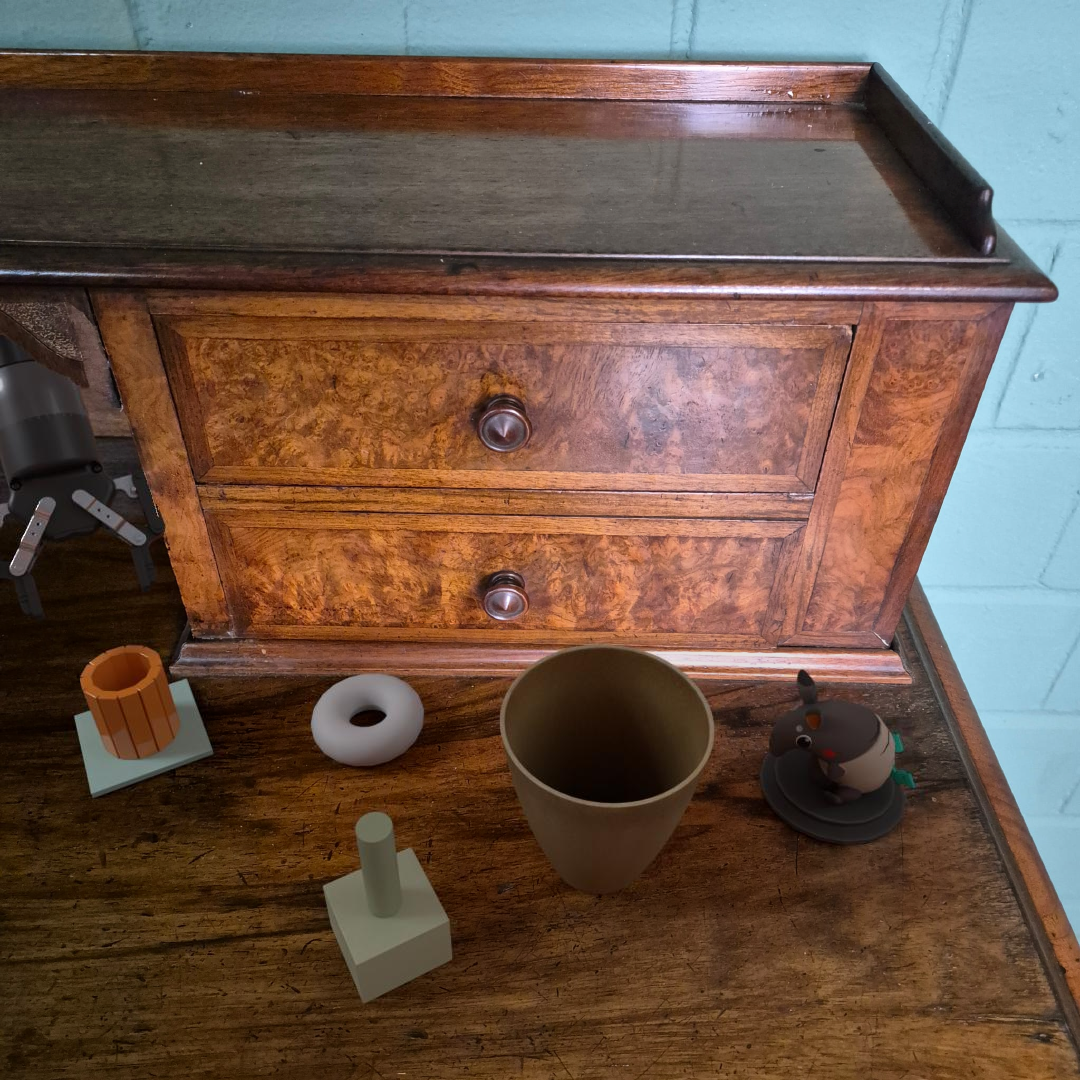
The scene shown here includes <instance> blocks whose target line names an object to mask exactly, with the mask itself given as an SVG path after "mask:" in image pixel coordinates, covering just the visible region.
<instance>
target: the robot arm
mask: <svg viewBox="0 0 1080 1080" xmlns="http://www.w3.org/2000/svg"><path fill="white" fill-rule="evenodd" d="M0 461H1V465H2V468H3V472H4V475H5V479H6V482H7V486H8V490H9V498H8V500H7V502H4V503H0V531H2V530H3V529H4V526H5V520H6V519H7V518H8V517H10V516H11V517H12V519H15V520H16V521H17V522H19V523H20V524H21V525H23V526H25V527H26V530H25V532H24V534H23V536H22V538H21V541H20V543H19V547H18V549H17V551H16V553H15V555H14V557H13V560H12V561H5V560H4V561H3V559H2V555H1V554H0V579H9V580H11V581H12V582H13V585H14V588H15V591H16V595H17V599H18V602H19V604H20V609H21V610H22V612H23V613H24V614H25V616H27V617H31V616H32V617H33V619H34V621H35V622H40V621H43V620H46V615H45V612H44V609H43V604H42V601H41V597H40V595H39V592H38V587H37V584H36V580H35V577H34V576H33V575H32V574H31V572H32V570H33V567H34V566H35V564H36V561H37V559H38V558H39V556H40V555H41V554H42V551H43V549H44V547H45V546H46V543H47V542H50V543H55V544H61V543H64V542H67V541H69V540H71V539H73V538H75V537H77V538H78V537H89V536H94V535H96V533H97V532H99V531H100V530H101V528H102V529H103V530H105V531H106V532H108V533H109V534H110V535H112V536H114V537H116V538H118V539H119V540H120V541H122V542H124V543H125V544H126V545H128V546H129V547H131V549H130V554H131V557H132V561H133V565H134V567H135V572H136V573H137V579H138V581H139V584H140V587H141V591H142V593H143V594H145V593H149V592H152V585H153V584H155V583H156V582H157V581H156V580H157V572H156V569H155V566H154V563H153V559H152V556H151V553H150V549H149V547H150V546H151V544H152V543H154V542H156V541H157V540H158V539H161V538H163V537H164V536H165V534H164V532H165V533H166V523H165V520H164V517H163V515H162V513H161V510H160V509H159V510H158V507H159V505H158V506H157V504H158V503H157V504H156V508H157V512H158V515H159V517H158V516H157V513H156V509H155V506H154V503H153V499H152V495H151V492H150V489H149V486H148V484H147V480H146V477H145V475H144V472H143V471H144V470H143V469H142V468H141V469H140V468H136V469H135V470H133V471H132V473H131V474H127V475H125V476H121V477H118V478H117V477H116V478H114V479H113V478H112V477H111V476H110V475H108V473H107V472H106V470H105V467H104V462H103V460H102V457H101V453H100V450H99V447H98V444H97V440H96V437H95V433H94V429H93V426H92V424H91V420H90V416H89V410H88V408H87V407H86V403H85V401H84V396H83V394H82V391H81V388H80V386H79V384H78V385H76V384H75V383H73V382H72V381H71V380H70V379H69V378H66V377H65V376H62V375H59V374H56V373H55V372H53V371H51V370H50V369H48V368H46V367H45V366H43V365H41V364H40V363H38V362H36V361H35V360H34V359H33V358H32V357H31V356H30V355H29V354H28V353H27V352H25V351H24V350H23V349H22V348H21V347H19V346H18V345H16V344H15V343H13V342H12V341H10V340H8V339H7V338H6V337H5V336H4V335H0ZM117 492H122V493H124V494H125V495H126V497H127V498H128V499H130V500H133V501H135V500H138V503H139V506H140V509H141V511H142V515H143V516H144V519H145V522H146V526H145V527H144V528H142V529H140V530H139V529H138V528H136V527H135V526H133V525H132V524H130V523H129V522H128V521H127V520H126V519H125V518H123V517H122V516H121V515H119V514H118V513H116V512H115V511H114V510H112V509H111V508H112V506H113V503H114V500H115V499H116V496H117Z"/></svg>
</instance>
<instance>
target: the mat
mask: <svg viewBox="0 0 1080 1080" xmlns="http://www.w3.org/2000/svg"><path fill="white" fill-rule="evenodd" d="M168 684H169V688H170V691H171V694H172V697H173V701H174V704H175V707H176V710H177V714H178V717H179V720H180V723H181V724H180V728H179V731H178V733H177V735H176V738H175V739H173V741H172V742H171V743H170V744H169V745H168V746H166V747H165V748H164V749H163V750H162V751H159V750H157V751H158V753H156V754H154V755H151V756H148V757H145V758H142V759H140V757H138V759H137V760H136V759H121V758H119V759H118V758H116V757H115V756H113V755H111V754H110V753H108V752H107V750H105V747H104V745H103V742H102V739H101V737H100V734H99V732H98V729H97V726H96V724H95V721H94V719H93V716H92V714H91V711H90V710H88V711H84V712H82V713H79V714H76V715H73V716H74V721H75V725H76V731H77V735H78V740H79V744H80V749H81V753H82V757H83V762H84V768H85V771H86V776H87V781H88V786H89V790H90V794H91V796H92V798H93V799H95V798H98V797H100V796H103V795H105V794H108V793H112V792H113V791H117V790H120V789H122V788H124V787H127V786H128V787H129V786H131V785H133V784H136V783H138V782H140V781H145V780H147V779H149V778H152V777H155V776H157V775H160V774H163V773H165V772H168V771H169V772H170V771H171V770H174V769H176V768H177V769H178V768H180V767H182V766H185V765H187V764H190V763H193V762H195V761H198V760H201V759H204V758H207V757H209V756H212V755H214V751H213V747H212V745H211V742H210V739H209V735H208V734H207V730H206V727H205V726H204V721H203V719H202V716H201V714H200V712H199V709H198V706H197V703H196V700H195V697H194V695H193V692H192V689H191V685H190V684H189V681H188V679H187V678H184V679H181V680H177V681H175V682H172V683H168Z"/></svg>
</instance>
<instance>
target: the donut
mask: <svg viewBox="0 0 1080 1080" xmlns="http://www.w3.org/2000/svg"><path fill="white" fill-rule="evenodd" d="M365 711H379V712H382V713H384V714H385V715H386V716H385V718H383V720H382V721H380V722H379V723H376V724H374V725H370V726H358V725H354V724H353V723H351V722H350V721H351V719H352V718H353V717H354V716H356V715H357V714H359V713H361V712H365ZM424 717H425V710H424V706H423V703H422V700H421V698H420V696H419V693H417V691H416V690H414V688H413V687H412V686H411V685H410V684H409V683H408V682H406V681H404V680H402V679H401V678H398V677H396V676H394V675H388V674H384V673H361V674H357V675H353V676H350V677H347V678H345V679H343V680H341V681H339V682H337V683H335V684H333V685H332V686H331V687H330V688H329V689H327V690H326V691H325V692H324V693H322V695H321V697H320V698H319V700H318V701H317V703H316V704H315V706H314V708H313V712H312V715H311V721H310V728H311V732H312V737H313V740H314V742H315V744H316V745H317V746H318V748H319V749H320V750H321V751H322V753H323V754H324V755H326V756H327V757H329V758H330V759H332V760H334V761H335V762H338V763H339V764H343V765H348V766H353V767H373V766H376V765H380V764H385V763H388V762H390V761H392V760H394V759H396V758H397V757H399V756H401V755H403V754H404V753H405V752H406V751H407V750H409V748H410V747H411V746H413V745H414V743H415V742H416V741H417V740H418V737H419V735H420V734H421V731H422V729H423V726H424Z"/></svg>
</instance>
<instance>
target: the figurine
mask: <svg viewBox="0 0 1080 1080" xmlns="http://www.w3.org/2000/svg"><path fill="white" fill-rule="evenodd" d="M796 688H797V691H798V694H799V697H800V698H801V701H802V703H803V704H801V705H797V706H794V707H793V708H792V709H791V710H789V711H787V712H786V713H785V714H784V715H783V716H781V718H779V719H778V720H777V721H776V722H775V724H774V726H773V727H772V729H771V732H770V734H769V740H768V749H769V752H767V754H766V755H765V756H764V759H763V762H762V765H761V768H760V771H759V774H758V776H759V777H758V778H759V782H760V789H761V795H762V796H763V797H764V799H765V801H766V802H767V804H768V806H769V807H770V809H771V810H772V812H773V813H774V814H776V815H777V816H778V817H779V818H780V819H781V820H783V821H784V822H785V823H786V824H787V825H788V826H790V827H791V828H792V829H793V830H796V831H798V832H800V833H803V834H805V835H807V836H808V837H811V838H813V839H815V840H817V841H823V842H829V843H833V844H838V845H855V844H857V845H858V844H867V843H871V842H874V841H876V840H878V839H881V838H883V837H885V836H887V835H889V834H890V833H891V832H892V831H893V830H894V829H895V827H896V826H897V825H898V824H899V823H900V822H901V820H902V818H903V815H904V811H905V810H904V809H905V804H906V799H907V798H906V795H905V792H904V789H903V788H904V787H903V785H904V786H906V787H908V789H910V790H916V784H915V781H914V779H913V776H912V774H911V771H910V770H901V769H900V770H899V769H897V770H896V767H895V764H896V763H895V761H896V759H895V758H896V753H897V754H903V753H904V747H903V744H902V741H901V739H900V736H899V733H898V731H897V730H895V731H893V732H890V730H889V728H888V727H887V725H886V724H885V722H884V721H883V719H882V718H881V717H880V716H879V715H878V714H877V713H875V712H874V711H872V710H871V709H869V708H868V707H867V706H865V705H861V704H858V703H856V702H853V701H848V700H842V699H841V700H840V699H823V700H819V693H818V688H817V685H816V682H815V681H814V679H813V678H812V676H811V675H810V674H809V673H808V672H807V670H805V669H800V670H798V672H797V677H796Z"/></svg>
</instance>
